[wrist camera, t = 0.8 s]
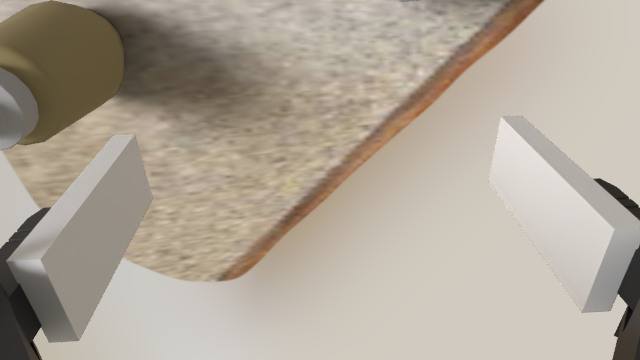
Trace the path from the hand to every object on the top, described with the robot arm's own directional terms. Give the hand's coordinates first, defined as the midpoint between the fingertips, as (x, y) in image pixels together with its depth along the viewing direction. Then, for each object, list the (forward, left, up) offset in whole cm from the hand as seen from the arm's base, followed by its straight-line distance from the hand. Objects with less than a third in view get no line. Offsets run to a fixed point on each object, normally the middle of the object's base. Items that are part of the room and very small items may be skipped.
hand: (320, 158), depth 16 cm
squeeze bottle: (0, -18, -23) cm, 29 cm away
